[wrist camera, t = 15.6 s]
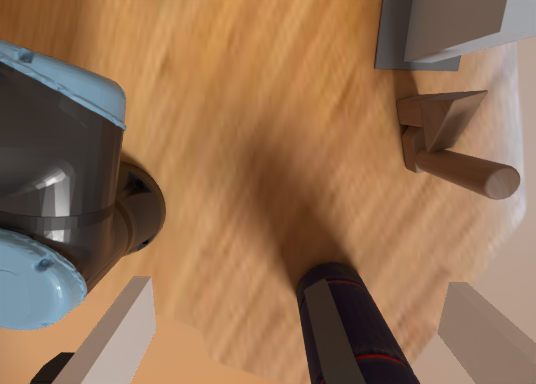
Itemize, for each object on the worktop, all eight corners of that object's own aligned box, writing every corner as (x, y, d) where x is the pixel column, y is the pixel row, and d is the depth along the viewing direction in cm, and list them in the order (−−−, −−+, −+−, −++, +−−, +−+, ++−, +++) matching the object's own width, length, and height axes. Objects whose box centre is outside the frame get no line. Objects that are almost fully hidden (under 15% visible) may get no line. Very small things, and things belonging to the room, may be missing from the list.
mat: (374, 68, 43) (375, 68, 42) (385, -29, 39) (387, -30, 39) (456, 71, 43) (458, 70, 43) (474, -26, 40) (476, -27, 39)
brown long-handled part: (419, 94, 44) (519, 87, 27) (428, 163, 47) (523, 197, 30) (394, 101, 44) (478, 98, 27) (405, 169, 47) (486, 206, 30)
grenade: (373, 296, 54) (500, 518, 25) (317, 327, 55) (374, 567, 27) (336, 238, 50) (432, 416, 22) (277, 272, 52) (293, 480, 23)
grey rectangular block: (415, -20, 39) (533, -117, 22) (445, -19, 39) (585, -115, 22) (403, 61, 42) (500, 31, 25) (431, 62, 42) (546, 33, 25)
